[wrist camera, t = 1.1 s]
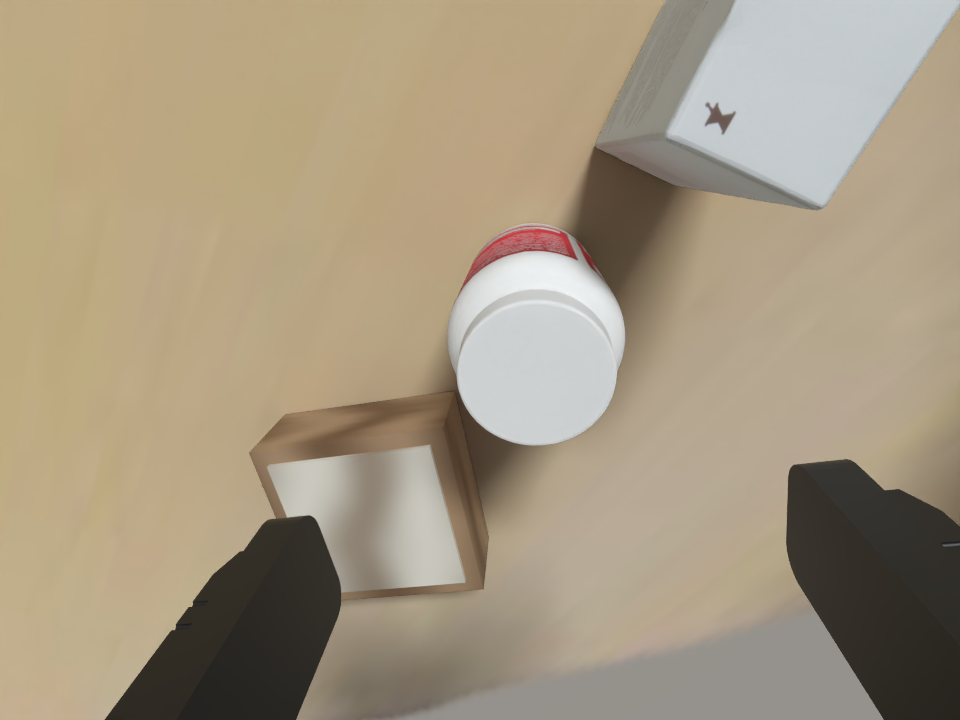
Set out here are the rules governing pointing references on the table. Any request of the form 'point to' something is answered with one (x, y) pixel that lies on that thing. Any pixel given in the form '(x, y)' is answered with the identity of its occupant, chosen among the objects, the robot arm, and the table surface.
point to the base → (383, 493)
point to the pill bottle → (535, 337)
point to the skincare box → (768, 92)
